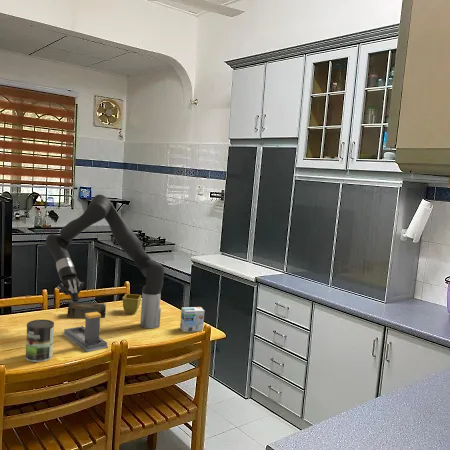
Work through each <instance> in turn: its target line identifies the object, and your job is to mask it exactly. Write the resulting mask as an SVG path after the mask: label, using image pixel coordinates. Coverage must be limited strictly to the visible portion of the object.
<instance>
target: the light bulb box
mask: <svg viewBox="0 0 450 450" xmlns="http://www.w3.org/2000/svg"><path fill="white" fill-rule="evenodd" d="M180 310H181V311H180V322H179V323H180V324H179V328H180V330H181V331H182V332H184V333H187V332H188V333H189V332H190V333H191V332H192V333H193V332H203V331H204V321H205V309H203V307H201V306H193V307H192V306H191V307H190V306H189V307H187V306H186V307H181V309H180ZM202 330H203V331H202Z"/></svg>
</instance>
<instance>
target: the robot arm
mask: <svg viewBox="0 0 450 450" xmlns="http://www.w3.org/2000/svg"><path fill="white" fill-rule="evenodd" d="M102 220H105V221H106V222H107V224H108V225H109V229H110V231H111V233H112V237H113V239H114V240H115V242H116V244H118V246H119V247H120V249H122V251H124V253H125V254H126V255H127V256H128V257H129V258H130V259H132V261H133V262H134V263H135V265H136V266H137V268H138V269H139V270H140V272H141V274H142V275H143V276H144V277H145V278H146V279H145V285H144V286H142V291H141V292H142V293H141V294H142V295H141V307H140V310H141V311H140V327H141V328H144V329H155V328H160V326H161V313H162V309H161V292H162V289H163V286H164V278H165V269H164V265H162V264H161V263H159V262H157V260H154V259H153V258H152V257H151V256H150V255H149V254H148V253H147V252H146V251H145V249H144V247H143V244H142V243H141V241H140V239H139V237H138V236H137V235H136V234H135V232H134V231H133V230H132V229H131V228H130V226H129V225H128V224H127V223H126V222H125V220H124V219H123V218H122V216H121V215H120V214H119V212H118V211H117V209H116V208H115V206H114V204H113V203H112V202H111V200H110V199H109V198H108V197H106V195H103V194H96V195H95V196H93V198H91V200H90V203H88V206H87V208H86V209H85V210H84V212H83V213H82V214H81V215H80V216H79V217H77V218H75V219H73V220H71V221H70V222H68V223H67V224H66V225H64V226H63V227H62V228H61V229H60V231H59V234H55V233H50V234H48V235H47V236H46V238H45V247H47V249H48V251H49V253H50V254H51V255H52V256H53V258H54V262H55V267H56V270H57V273H58V277H59V280H60V283H58V285H57V287H56V288H57V290H59V291H60V292H61V293H63V294H64V295H65V296H69V297H70V298H71V302H72V303H79V300H80V297H79V294H80V292H81V291H82V289H83V287H84V285H85V281H80V279H79V278H78V276H77V275H78V274H77V272H76V268H75V265H74V263H73V261H72V259H71V255H70V253H69V251H68V249H67V248H68V247H69V245H70V244H71V243H72V241H73V239H74V238H76V237H77V236H78V235H80V234H81V233H82V232H83V231H84V230H86V229H88V228H89V227H91V226H92V225H94V224H96V223H98V222H100V221H102ZM77 287H78V288H77Z"/></svg>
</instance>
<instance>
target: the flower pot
mask: <svg viewBox="0 0 450 450" xmlns="http://www.w3.org/2000/svg"><path fill="white" fill-rule="evenodd" d="M141 302H142V295H141V294H131V293H125V295H124V296H122V307H123V308H122V309H123V310H124V312H125V314H134V315H136V313H137V311H138V309H139V308H140V305H141Z"/></svg>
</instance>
